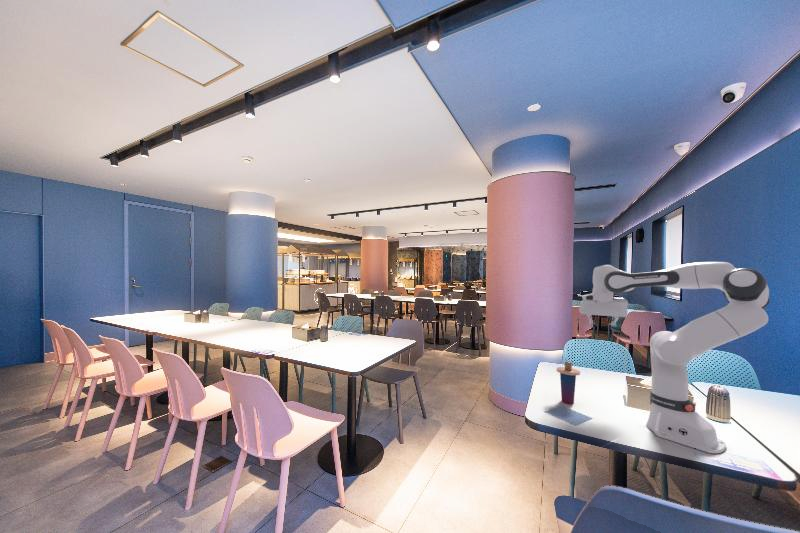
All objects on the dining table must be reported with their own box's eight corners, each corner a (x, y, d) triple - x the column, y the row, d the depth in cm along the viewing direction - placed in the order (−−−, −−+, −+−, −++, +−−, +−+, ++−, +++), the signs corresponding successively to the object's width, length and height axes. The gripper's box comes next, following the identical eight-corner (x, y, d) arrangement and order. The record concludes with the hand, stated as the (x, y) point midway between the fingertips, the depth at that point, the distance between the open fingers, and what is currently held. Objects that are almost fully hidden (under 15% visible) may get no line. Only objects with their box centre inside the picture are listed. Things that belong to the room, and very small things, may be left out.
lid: (584, 373, 145) (584, 363, 145) (572, 376, 140) (572, 366, 140) (564, 367, 154) (564, 357, 154) (552, 370, 148) (552, 360, 148)
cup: (578, 406, 142) (578, 374, 143) (562, 405, 144) (562, 373, 144) (572, 400, 149) (573, 370, 149) (557, 399, 151) (558, 369, 151)
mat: (593, 419, 130) (593, 418, 130) (575, 426, 124) (575, 425, 124) (561, 406, 142) (561, 405, 142) (544, 412, 136) (544, 411, 136)
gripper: (626, 297, 151) (626, 325, 151) (579, 295, 161) (578, 321, 161) (629, 298, 146) (629, 327, 146) (579, 296, 155) (579, 323, 155)
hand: (602, 324), depth 153 cm, fingers open, 8 cm apart
